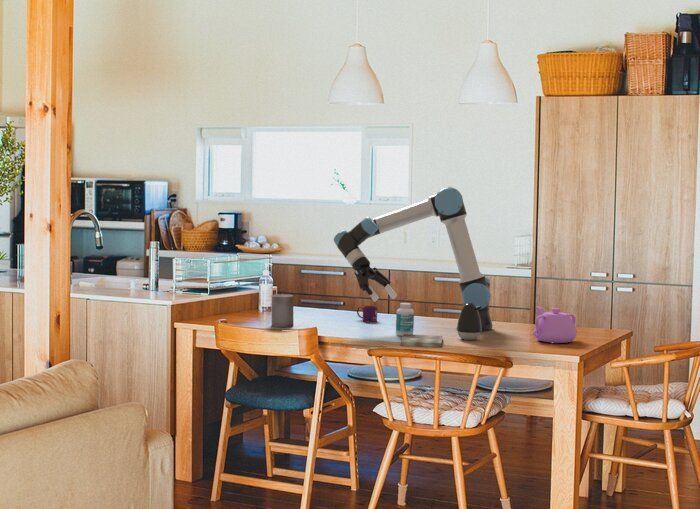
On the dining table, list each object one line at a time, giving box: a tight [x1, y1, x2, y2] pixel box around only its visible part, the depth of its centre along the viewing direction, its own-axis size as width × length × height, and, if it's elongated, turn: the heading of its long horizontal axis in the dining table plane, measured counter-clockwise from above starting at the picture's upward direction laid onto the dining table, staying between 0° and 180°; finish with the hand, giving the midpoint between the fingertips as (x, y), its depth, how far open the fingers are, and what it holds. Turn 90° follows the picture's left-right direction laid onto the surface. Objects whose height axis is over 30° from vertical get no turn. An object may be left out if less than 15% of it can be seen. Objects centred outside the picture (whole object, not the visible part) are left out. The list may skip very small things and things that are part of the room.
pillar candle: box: [271, 293, 294, 328], centre depth 415 cm, size 10×10×15 cm
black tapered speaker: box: [456, 303, 483, 341], centre depth 388 cm, size 10×10×15 cm
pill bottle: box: [395, 302, 415, 337], centre depth 396 cm, size 8×7×14 cm
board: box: [399, 334, 443, 348], centre depth 378 cm, size 16×20×2 cm
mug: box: [356, 305, 378, 323], centre depth 438 cm, size 7×10×7 cm
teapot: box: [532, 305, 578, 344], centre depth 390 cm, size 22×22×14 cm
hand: (386, 298), depth 401 cm, fingers open, 13 cm apart
